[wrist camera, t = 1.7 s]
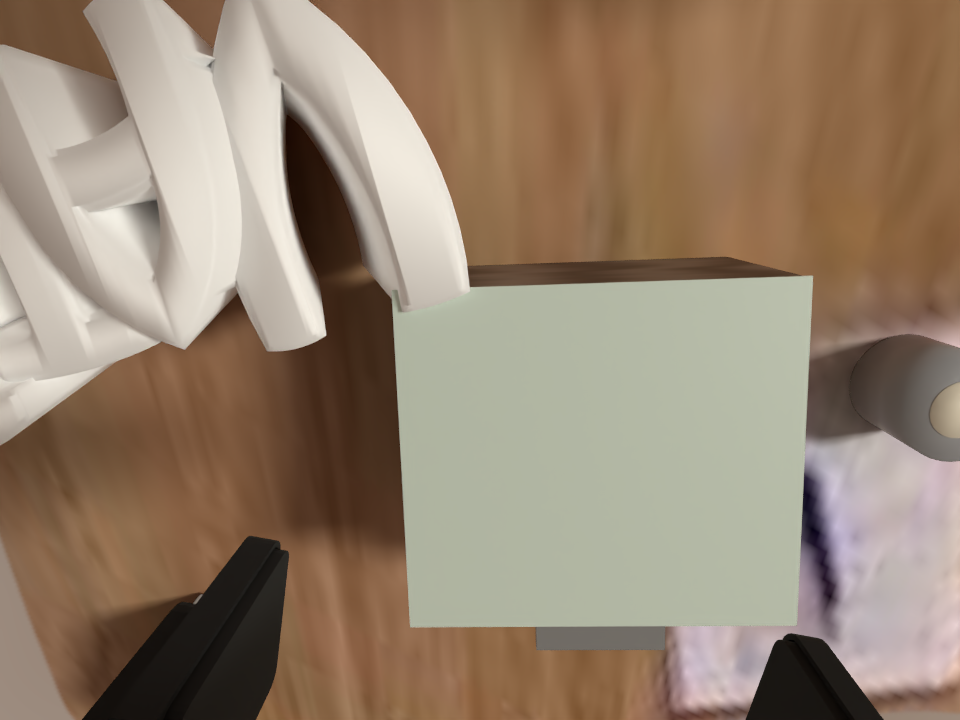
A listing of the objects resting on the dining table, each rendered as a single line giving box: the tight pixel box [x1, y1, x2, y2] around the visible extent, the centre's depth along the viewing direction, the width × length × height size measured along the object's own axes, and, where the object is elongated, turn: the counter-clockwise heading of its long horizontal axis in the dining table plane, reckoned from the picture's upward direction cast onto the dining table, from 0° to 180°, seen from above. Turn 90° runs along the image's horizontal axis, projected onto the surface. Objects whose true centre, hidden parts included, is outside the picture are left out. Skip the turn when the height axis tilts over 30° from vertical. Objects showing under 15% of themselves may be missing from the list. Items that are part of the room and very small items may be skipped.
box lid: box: [392, 276, 813, 650], centre depth 27 cm, size 18×17×1 cm
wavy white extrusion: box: [0, 0, 470, 445], centre depth 29 cm, size 35×16×11 cm, turn 105°
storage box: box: [467, 257, 801, 287], centre depth 32 cm, size 18×16×9 cm
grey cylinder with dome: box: [849, 334, 960, 462], centre depth 33 cm, size 6×6×5 cm
